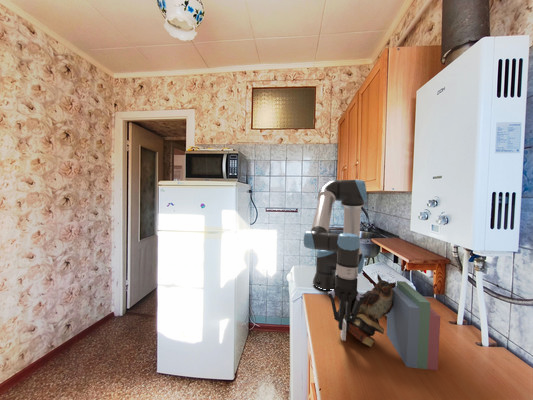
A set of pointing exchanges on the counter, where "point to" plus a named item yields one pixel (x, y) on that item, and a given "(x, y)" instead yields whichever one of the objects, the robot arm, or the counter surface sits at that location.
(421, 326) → the book row
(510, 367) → the counter surface
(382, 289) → the bookend
